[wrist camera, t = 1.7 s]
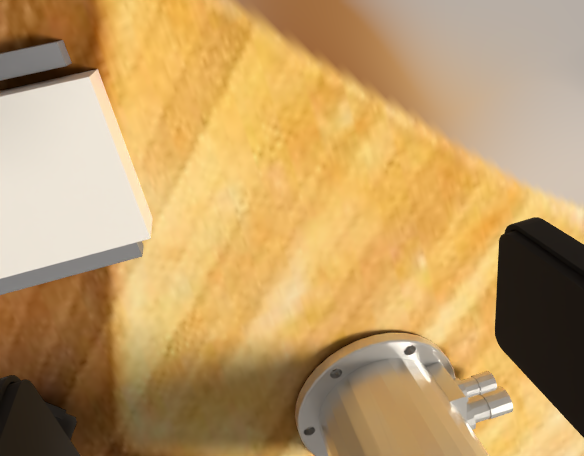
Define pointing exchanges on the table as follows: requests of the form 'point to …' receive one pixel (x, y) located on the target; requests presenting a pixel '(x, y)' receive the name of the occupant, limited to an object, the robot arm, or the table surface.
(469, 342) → the table surface
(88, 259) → the dock
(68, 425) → the magazine
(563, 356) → the robot arm
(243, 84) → the table surface
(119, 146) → the white rounded slab
